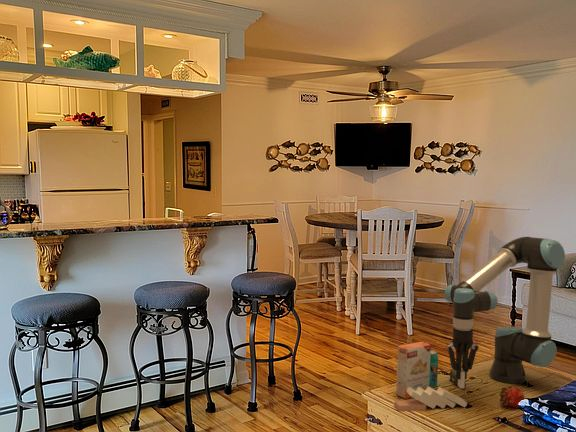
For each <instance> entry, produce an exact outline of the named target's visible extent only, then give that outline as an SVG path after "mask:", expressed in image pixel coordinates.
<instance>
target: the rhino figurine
mask: <svg viewBox="0 0 576 432" xmlns="http://www.w3.org/2000/svg"><path fill="white" fill-rule="evenodd" d="M449 376H450V377H449V380H448V381H450V382H453V380H454V384H453V386H455V387H458V379H457V378H456V370H454V369H453V368H452V369H451V370H450V371H449ZM467 379H468V377H467V378H466V379H465V380H467ZM466 387H467V384H466V382H465V386H464V388H463V389H466Z"/></svg>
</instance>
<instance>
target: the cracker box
mask: <svg viewBox="0 0 576 432" xmlns="http://www.w3.org/2000/svg"><path fill="white" fill-rule="evenodd" d="M431 350H432V345H431V344H430V343H426V342H423V341H417V342H411V343H407V344H406V343H405V344H402V345H399V346H397V362H396V363H397V366H396V394H395V395H396V396H398V397H399V398H402V399H403V400H409V399H412V398H413V397H412V396H410V395H409V394H408V393H407V389H408V387H410V388H412V389H414V390H415V391H416V390H417V388H418V387H420V388H422V389H424V390H426V389H427V387H428V386H429V380H430V357H431Z"/></svg>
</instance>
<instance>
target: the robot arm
mask: <svg viewBox="0 0 576 432" xmlns="http://www.w3.org/2000/svg"><path fill="white" fill-rule="evenodd" d="M565 258H566V255H565V249H564V247H563V245H562V243H560V241H558V240H555V239H550V238H543V237H531V236H521V237H517V238H515V239H513V240H511V241H510V242H507V243H506V244H504V245H503V246H502V247H500V248H499V249H498V250H497V253H496V254H495V255H493V256H492V257H491V258H489V259H488V261H486V262H485V263H484V264H481V266H480V267H478V268H477V269H476V270H474V271H473V272H472V273H471V274H469V275H468V276H467V277H466V278H465V279H463V280H462V281H461V282H459V283H457V285H456V284H449V285H448V286H446V288H445V290H444V295H443V296H444V299H445V300H446V301H447V302H449V303H451V304H453V315H452V318H453V320H452V327H453V328H452V340H451V343H450V344H447V345H446V346H445V349H447V352H448V356H449V362H450V368H452V369H454V370H456V378H457V379H458V382H457V387H458V388H460V389H465V388H464V386H465V385H466V384H465V383H466V380H467V379H468V377H467V375H468V372H469V370H470V371H471V370H473V369H472V368H473V366H474V365H473V364H474V363H475V357H476V354H477V351H478V349H479V348H480V347H479V346H478V344H475V343H474V341H473V337H474V336H473V335H474V330H473V329H474V313H477V312H489V311H492V310H494V309H496V308H497V306H498V297H497V295H496V294H495V293H494V292H493V291H490V290H489V291H486V290H484V291H481V290H483V289H484V288H485V287H487V286H488V285H489V284H490V283H491V282H493V281H494V280H496V278H497V277H498V276H500V275H501V274H502V273H504V272H505V271H506V270H507V269H509V268H514V267H515V266H516V265H518V264H524V263H525V264H527V268H526V269H527V270H528V272H529V273H530V276H529V277H530V279H529V289H528V299H527V300H528V302H527V309H526V310H527V314H526V322H525V323H526V325H525V328H523V327H520V326H519V327H518V326H501V327H497V328H496V329H495V335H494V359H493V362H492V365H491V367H490V369H489V377H490V378H491V379H492V380H495V381H497V382H500V383H505V384H513V385H514V384H515V385H516V384H517V385H518V384H523V383H525V382H526V380H527V377H526V376H527V375H526V372H525V368H524V365H523V362H524V363H527V364H531V365H533V366H535V367H536V366H537V367H538V368H539V367H540V368H544V367H545V368H546V367H548V366H549V365H551V364H552V362H553V361H554V360H555V358H556V356H557V352H558V351H557V346H556V343H555V342H554V341H553V340H552V334H551V333H550V332H549V321H550V313H551V311H550V309H551V300H552V299H551V298H552V286H553V278H554V277H553V276H554V275H555V274H556V273H558V269H559V268H561V267H562V266H563V263H564V262H565ZM454 349H455V352H454ZM455 353H456V354H455ZM466 378H467V379H466Z"/></svg>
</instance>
